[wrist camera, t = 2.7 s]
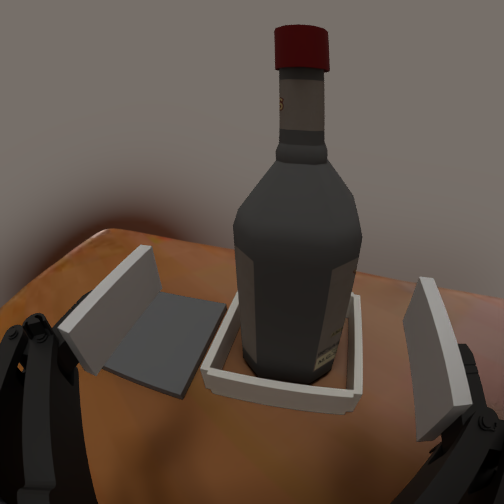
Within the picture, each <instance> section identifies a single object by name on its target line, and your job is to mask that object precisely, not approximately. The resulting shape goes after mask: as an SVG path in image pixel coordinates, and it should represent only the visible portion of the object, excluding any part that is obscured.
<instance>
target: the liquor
mask: <svg viewBox="0 0 504 504" xmlns="http://www.w3.org/2000/svg"><path fill="white" fill-rule="evenodd" d="M274 35H275V69H276V70H279V74H280V75H279V84H280V85H279V87H280V88H279V93H280V136H279V145H278V147H277V149H276V161H275V163H274V164H273V165H272V166H271V168H270V169H269V170H268V171H267V173H266V174H265V175H264V177H263V178H262V179H261V180H260V182H259V183H258V184H257V186H256V187H255V188H254V189H253V191H252V192H251V193H250V195H249V196H248V197H247V198H246V200H245V201H244V203H243V204H242V205H241V206H240V208H239V209H238V212H237V215H236V218H235V221H234V224H233V231H234V246H235V260H236V273H237V287H238V299H239V312H240V324H241V336H242V347H243V358H244V359H245V360H246V362H247V363H248V364H249V366H250V367H251V368H252V369H253V371H254V372H255V373H256V375H257V376H259V377H261V378H267V379H273V380H280V381H287V382H294V383H301V384H309V383H311V382H313V381H314V380H316V379H317V378H319V377H321V376H322V375H324V374H325V373H327V372H328V371H330V370H331V368H332V364H333V361H334V358H335V354H336V351H337V347H338V344H339V340H340V337H341V333H342V329H343V325H344V321H345V317H346V313H347V309H348V305H349V301H350V297H351V292H352V288H353V283H354V278H355V274H356V269H357V263H358V258H359V253H360V247H361V242H362V233H361V228H360V223H359V217H358V213H357V209H356V205H355V201H354V197H353V195H352V193H351V192H350V190H349V189H348V187H347V186H346V184H345V183H344V182H343V180H342V179H341V177H340V176H339V175H338V173H337V172H336V171H335V169H334V168H333V166H332V165H331V163H330V162H329V161H328V160H327V148H326V145H325V142H324V72H329V71H330V66H329V42H328V32H327V31H326V30H325V29H323V28H320V27H316V26H311V25H285V26H281V27H278V28H276V29H275V31H274Z"/></svg>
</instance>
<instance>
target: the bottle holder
mask: <svg viewBox="0 0 504 504" xmlns="http://www.w3.org/2000/svg"><path fill="white" fill-rule="evenodd" d="M345 318H348V365H347V385H346V389H336V388H326V387H317V386H308V385H301V384H294V383H287V382H280V381H274V380H268V379H263V378H257V377H252V376H247V375H242V374H237V373H232V372H228V371H223V370H222V368H223V366H224V363H225V361H226V359H227V356H228V354H229V352H230V349H231V347H232V344H233V342H234V340H235V337H236V335H237V332H238V330H239V327H240V325H241V324H240V312H239V299H238V291H237V293H236V295H235V297H234V299H233V301H232V304H231V306H230V308H229V310H228V312H227V314H226V316H225V318H224V320H223V322H222V324H221V326H220V328H219V330H218V333H217V335H216V337H215V339H214V341H213V343H212V345H211V347H210V349H209V351H208V353H207V355H206V357H205V359H204V361H203V364H202V366H201V368H200V370H201V374H202V377H203V380H204V383H205V387H206V388H208V389H211V391H212V393H214V394H218V395H222V396H226V397H230V398H235V399H239V400H244V401H249V402H254V403H259V404H264V405H270V406H275V407H281V408H288V409H295V410H302V411H310V412H318V413H328V414H340V415H344V414H345V412H353V410H354V408H355V407H356V405H357V403H358V401H359V399H360V398H361V396H362V386H363V351H362V321H361V303H360V295H354V293H353V292H351V297H350V301H349V305H348V309H347V313H346V317H345Z"/></svg>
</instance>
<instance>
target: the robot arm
mask: <svg viewBox="0 0 504 504" xmlns="http://www.w3.org/2000/svg"><path fill="white" fill-rule="evenodd" d="M161 289H162V286H161V282H160V278H159V274H158V270H157V266H156V262H155V257H154V253H153V249H152V246H146V245H140V246H139V247H138V248H136V249H135V250H134V251H133V252H132V253H131V254H130V255H129V256H128V257H127V258H126V259H125V260H124V261H122V262H121V263H120V264H119V265H118V266H117V267H116V268H115V269H114V270H113V271H112V272H111V273H110V274H109V275H108V276H107V277H106V278H105V279H104V280H103V281H102V282H101V283H100V284H99V285H98V286H97V287H96V288H95V289H94V290H91V291H90V292H88V293H86V294H85V295H83V296H82V297H81V298H80V299H79V300H78V301H77V303H76V304H74V305H73V306H72V307H71V309H69V311H68V312H67V313H66V314H65V315H64V316H63V317H62V318H61V319H60V320H59V321H58V322H57V323H56V324H55V326H54V327H53V328H51V326H50V325H49V323H48V321H47V319H46V317H45V316H44V315H43V314H41V313H35V314H33V315H31V316H29V317H28V318H27V319H26V320H25V321H24V323H23V325H22V326H21V325H14V326H12V327H10V328H9V329H8V330H7V332H6V333H5V335H4V337H3V339H2V341H1V343H0V504H98V502H97V499H96V495H95V492H94V488H93V483H92V479H91V474H90V470H89V465H88V459H87V454H86V448H85V441H84V434H83V427H82V418H81V407H80V394H79V372H78V368H77V367H76V366H77V364H78V363H80V364H81V366H82V367H83V369H84V370H85V371H87V372H89V373H91V374H93V375H95V376H97V374H98V373H99V371H100V370H101V369H102V367H103V366H104V364H105V363H106V362H107V360H108V359H109V357H110V356H111V355H112V353H113V352H114V351H115V349H116V348H117V347H118V345H119V344H120V343H121V341H122V340H123V338H124V337H125V336H126V334H127V333H128V332H129V331H130V329H131V328H132V327H133V325H134V324H135V323H136V321H137V320H138V319H139V317H140V316H141V315H142V313H143V312H144V311H145V310H146V308H147V307H148V306H149V304H150V303H151V302H152V301H153V299H154V298H155V297H156V296H157V294H158V293H159V292H160V290H161ZM403 325H404V331H405V336H406V342H407V348H408V354H409V361H410V368H411V376H412V384H413V394H414V405H415V418H416V441H417V442H421V441H432V440H435V439H436V438H437V437H438V436H439V435H440V434H441V437H442V442H440V443H439V444H438V445H437V446H435V447H434V448H433V449H432V450H431V451H430V452H429V453H430V454H431V453H432V452H433V451H434V452H433V453H432V454H431V456H430V457H429V458H428V460H427V461H426V462H425V464H424V465H423V466H422V468H421V469H420V470H419V471H418V473H417V474H416V475H415V476H414V478H413V479H412V480H411V481H410V482H409V484H408V485H407V486H406V487H405V488H404V489H403V490H402V492H401V493H400V494H399V495H398V496H397V497H396V498H395V499H394V500H393V501H392V502H391V503H390V504H504V420H500V419H499V418H498V416H497V414H496V413H495V411H494V410H493V409H491V408H489V407H487V405H486V401H485V397H484V393H483V388H482V384H481V381H480V377H479V375H478V370H477V366H475V365H476V363H475V359H474V356H473V353H472V352H471V350H470V349H469V348H468V346H467V345H466V344H457V341H456V338H455V335H454V332H453V329H452V326H451V323H450V320H449V317H448V314H447V311H446V309H445V306H444V303H443V301H442V298H441V296H440V293H439V291H438V288H437V286H436V283H435V281H434V279H433V278H426V277H419V279H418V282H417V285H416V288H415V290H414V293H413V296H412V299H411V301H410V304H409V306H408V309H407V312H406V314H405V317H404V319H403ZM18 363H20V364H21V365H22V366H23V368H24V369H23V371H22V372H21V371H20V370H19V369H18V367H17V366H18Z"/></svg>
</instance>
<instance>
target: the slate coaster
mask: <svg viewBox="0 0 504 504" xmlns="http://www.w3.org/2000/svg"><path fill="white" fill-rule="evenodd" d="M226 310H227V307H226V304H224V303H218V302H212V301H206V300H201V299H195V298H190V297H185V296H179V295H174V294H169V293H164V292H159V293H158V294H157V296H156V297H155V298H154V299H153V301H152V302H151V303H150V304H149V306H148V307H147V308H146V310H145V311H144V312H143V313H142V315H141V316H140V317H139V319H138V320H137V321H136V323H135V324H134V325H133V327H132V328H131V329H130V331H129V332H128V333H127V334H126V336H125V337H124V338H123V340H122V341H121V343H120V344H119V345H118V347H117V348H116V349H115V351H114V352H113V353H112V355H111V356H110V357H109V359H108V360H107V362H106V363H105V364H104V366H103V367H102V369H104V370H106V371H108V372H111V373H113V374H115V375H117V376H120V377H122V378H125V379H127V380H129V381H132V382H134V383H137V384H139V385H142V386H145V387H147V388H150V389H153V390H155V391H158V392H161V393H164V394H167V395H170V396H173V397H176V398H179V399H182V400H183V398H184V396H185V394H186V392H187V390H188V388H189V386H190V384H191V382H192V380H193V378H194V376H195V374H196V372H197V370H198V368H199V366H200V363H201V361H202V359H203V357H204V355H205V353H206V351H207V349H208V347H209V345H210V343H211V341H212V339H213V337H214V335H215V333H216V331H217V329H218V327H219V325H220V323H221V321H222V319H223V317H224V314H225V312H226Z"/></svg>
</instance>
